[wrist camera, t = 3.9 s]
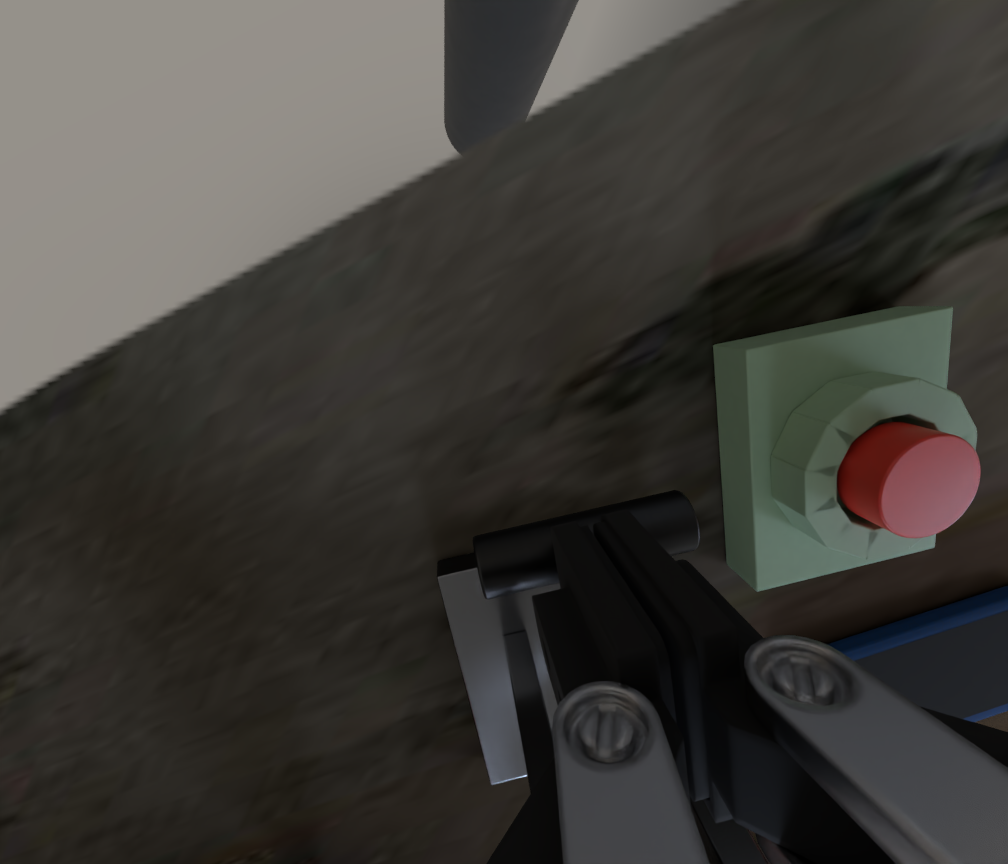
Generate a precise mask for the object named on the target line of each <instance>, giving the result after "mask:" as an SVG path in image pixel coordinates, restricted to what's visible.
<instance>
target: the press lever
mask: <svg viewBox="0 0 1008 864" xmlns="http://www.w3.org/2000/svg"><path fill="white" fill-rule="evenodd" d="M625 509H627V510H628V511H630V513H631V514H632V515H633V516H634V517H635V518H636V519H637V520H638V521H639V522H640V523H641V524H642V526H643V527H644V528H645V529H646V530H647V531H648V532H649V533H650V534H651V535H652V536H653V537H654V539H655V540H656V541H657V542H658V543H659V544H660V545H661V546H662V547H663V548H664V549H665V550H666V551H667V553H668V554H669V555H670V556H673V555H677V554H681V553H686V552H690V551H694V550H695V549H696V548H697V547H698V546H699V543H700V529H699V524H698V520H697V517H696V514H695V511H694V509H693V507H692V505H691V503H690V502H689V500H688V499H687V497H686V496H685V495H684V494H683V493H682V492H680V491H676V490H673V491H669V492H664V493H660V494H656V495H651V496H647V497H643V498H638V499H634V500H630V501H625V502H621V503H617V504H612V505H608V506H603V507H599V508H595V509H590V510H586V511H582V512H577V513H573V514H569V515H564V516H560V517H555V518H551V519H547V520H542V521H538V522H534V523H529V524H525V525H521V526H516V527H512V528H508V529H503V530H499V531H494V532H490V533H486V534H481V535H477V536H475V537H473V547H474V553H475V559H476V564H477V569H478V574H479V578H480V583H481V587H482V591H483V595H484V597H485V599H488V600H489V599H493V598H498V597H502V596H506V595H510V594H514V593H518V592H523V591H527V590H531V589H535V588H539V587H543V586H548V585H552V584H556V583H560V582H559V577H558V571H557V565H556V560H555V554H554V548H553V543H552V537H551V527H552V526H556V525H560V524H565V523H569V522H573V521H576V522H577V523H578V525H579V526H580V527H582V526H586V525H587V526H588V527H589V528H590V530H591V531H592V533H593V534H594V530H593V525H594V524H595V523H599V522H601V521H600V520H601V515H604V514H608V513H612V512H617V511H621V510H625Z"/></svg>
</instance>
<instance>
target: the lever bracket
mask: <svg viewBox="0 0 1008 864" xmlns="http://www.w3.org/2000/svg"><path fill="white" fill-rule="evenodd" d="M437 580H438V584H439V588H440V591H441V595H442V599H443V603H444V607H445V611H446V615H447V618H448V622H449V626H450V630H451V634H452V638H453V642H454V645H455V649H456V653H457V657H458V661H459V665H460V669H461V673H462V676H463V680H464V684H465V688H466V692H467V696H468V700H469V703H470V707H471V711H472V715H473V719H474V723H475V727H476V730H477V734H478V738H479V742H480V746H481V750H482V754H483V758H484V761H485V765H486V769H487V773H488V777H489V781H490V784H491V785H494V784H498V783H502V782H506V781H509V780H513V779H517V778H521V777H524V776H528V780H529V786H530V792H531V793H532V791H533V790H534V788H535V787H536V785H537V784H538V782H539V780H540V779H541V777H542V776H543V774H544V773H545V771H546V769H547V768H548V766H549V765H550V763H551V762H552V760H553V758H554V747H553V735H552V726H553V716H554V713H555V711H556V709H557V707H558V705H557V702H556V698H555V695H554V691H553V688H552V684H551V681H550V677H549V674H548V670H547V667H546V663H545V659H544V655H543V651H542V647H541V642H540V638H539V633H538V628H537V623H536V618H535V613H534V608H533V602H532V596H533V595H537V594H541V593H545V592H550V591H554V590H558V589H561V588H560V583H556V584H552V585H548V586H543V587H539V588H535V589H531V590H527V591H523V592H518V593H514V594H510V595H506V596H502V597H498V598H493V599H489V600H488V599H485V597H484V595H483V591H482V587H481V583H480V578H479V574H478V569H477V564H476V559H475V553H470V554H465V555H461V556H457V557H452V558H448V559H444V560H440V561H438V563H437ZM690 803H691V811H692V813H693V816H694V819H695V822H696V825H697V828H698V831H699V834H700V837H701V840H702V843H703V846H704V849H705V851H706V854H707V857H708V860H709V863H710V864H768V862H767V860H766V859H765V857H764V855H763V853H762V852H761V850H760V848H759V847H758V845H757V843H756V841H755V840H754V838H753V836H752V835H751V833H750V831H749V829H747V828H745V827H743V826H741V825H739V824H737V823H736V822H735V821H734V819H730V820H726V821H723V822H719V823H715V821H714V819H713V817H712V815H711V813H710V811H709V810H708V808H707V806H706V804H705V802H704V800H703V799H702V800H699V801H693V800H692V799H691V797H690Z"/></svg>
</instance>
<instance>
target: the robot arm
mask: <svg viewBox="0 0 1008 864" xmlns="http://www.w3.org/2000/svg"><path fill="white" fill-rule="evenodd" d="M600 521H601V522H599V523H595V524H594V525H593V530H594V534H593V533H592V531H591V530H590V528H589V527H588V526H587V525H586V526H582V527H580V526H579V525H578V523H577V522H576V521H573V522H569V523H565V524H560V525H556V526H552V527H551V537H552V543H553V548H554V554H555V560H556V565H557V571H558V577H559V582H560V588H561V589H558V590H554V591H550V592H545V593H541V594H537V595H533V596H532V602H533V608H534V613H535V618H536V623H537V628H538V633H539V638H540V642H541V647H542V651H543V655H544V659H545V663H546V667H547V670H548V674H549V677H550V681H551V684H552V688H553V691H554V695H555V698H556V702H557V705H558V707H557V709H556V711H555V713H554V716H553V726H552V735H553V747H554V758H553V760H552V762H551V763H550V765H549V766H548V768H547V769H546V771H545V773H544V774H543V776H542V777H541V779H540V780H539V782H538V784H537V785H536V787H535V788H534V790H533V791H532V793H531V795H530V796H529V798H528V799H527V801H526V802H525V804H524V806H523V807H522V809H521V810H520V812H519V813H518V815H517V817H516V818H515V820H514V821H513V823H512V824H511V826H510V828H509V829H508V831H507V832H506V834H505V835H504V837H503V839H502V840H501V842H500V843H499V845H498V846H497V848H496V850H495V851H494V853H493V854H492V856H491V857H490V859H489V861H488V862H487V864H710V863H709V860H708V857H707V854H706V851H705V849H704V846H703V843H702V840H701V837H700V834H699V831H698V828H697V825H696V822H695V819H694V816H693V813H692V811H691V803H690V797H691V799H692V800H693V801H699V800H702V799H703V800H704V802H705V804H706V806H707V808H708V810H709V811H710V813H711V815H712V817H713V819H714V821H715V823H719V822H723V821H726V820H730V819H734V821H735V822H736V823H737V824H739V825H741V826H743V827H745V828H747V829H749V830H751V831H753V832H755V834H756V838H757V842H758V844H759V846H760V848H761V849H762V851H763V853H764V854H765V856H766V858H767V860H768V861H769V862H770V864H1008V732H1005V731H1002V730H998V729H995V728H991V727H988V726H985V725H981V724H978V723H974V722H971V721H968V720H964V719H961V718H958V717H954V716H951V715H947V714H944V713H941V712H937V711H934V710H930V709H927V708H924V707H920V706H918V705H917V704H915V703H914V702H912V701H911V700H910V699H908V698H907V697H905V696H904V695H902V694H901V693H899V692H898V691H897V690H895V689H894V688H892V687H891V686H889V685H888V684H887V683H885V682H884V681H882V680H881V679H879V678H878V677H876V676H875V675H874V674H872V673H871V672H869V671H868V670H866V669H865V668H863V667H862V666H861V665H859V664H858V663H856V662H855V661H853V660H852V659H851V658H849V657H848V656H846V655H845V654H843V653H842V652H840V651H838V650H836V649H834V648H833V647H831V646H829V645H827V644H825V643H822V642H819V641H816V640H813V639H810V638H805V637H799V636H794V635H775V636H771V637H767V638H763V637H762V636H761V635H760V634H759V633H758V632H757V631H756V630H755V629H754V628H753V627H752V626H751V625H750V624H749V623H748V622H747V621H746V620H745V619H744V618H743V617H742V616H741V615H740V614H739V613H738V612H737V611H736V610H735V609H734V608H733V607H732V606H731V605H730V604H729V603H728V602H727V600H726V599H725V598H724V597H723V596H722V595H721V594H720V593H719V592H718V591H717V590H716V589H715V588H714V587H713V586H712V585H711V584H710V583H709V582H708V581H707V580H706V579H705V578H704V577H703V576H702V575H701V574H700V573H699V572H698V571H697V570H696V569H695V568H694V567H693V566H692V565H691V564H690V563H689V562H688V561H686V560H678V561H675V560H674V559H673V558H672V557H671V556H670V555H669V554H668V553H667V551H666V550H665V549H664V548H663V547H662V546H661V545H660V544H659V543H658V542H657V541H656V540H655V539H654V537H653V536H652V535H651V534H650V533H649V532H648V531H647V530H646V529H645V528H644V527H643V526H642V524H641V523H640V522H639V521H638V520H637V519H636V518H635V517H634V516H633V515H632V514H631V513H630V511H628V510H627V509H625V510H621V511H617V512H612V513H608V514H604V515H601V520H600Z"/></svg>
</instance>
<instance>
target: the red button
mask: <svg viewBox="0 0 1008 864" xmlns="http://www.w3.org/2000/svg"><path fill="white" fill-rule="evenodd" d="M980 472H981V469H980V462H979V458H978V455H977V453H976V451H975V450H974V448H973V447H972V446H971V445H970V444H969V443H968V442H967V441H966V440H964V439H963V438H961V437H959V436H956V435H953V434H949V433H945V432H941V431H937V430H933V429H929V428H925V427H921V426H917V425H913V424H909V423H905V422H889V423H884V424H880V425H877V426H875V427H873V428H871V429H869V430H867V431H866V432H865V433H863V434H862V435H860V436H859V437H858V438H857V439H856V440H855V441H854V442H853V443H852V444H851V446H850V447H849V449H848V451H847V453H846V455H845V457H844V458H843V460H842V462H841V464H840V466H839V469H838V474H837V489H838V493H839V496H840V498H841V500H842V502H843V504H844V505H845V506H846V507H847V508H848V509H849V510H850V511H851V512H853V513H854V514H856V515H858V516H860V517H862V518H864V519H866V520H868V521H870V522H872V523H874V524H876V525H878V526H880V527H882V528H884V529H886V530H888V531H890V532H892V533H894V534H896V535H898V536H901V537H905V538H923V537H928V536H931V535H934V534H936V533H939V532H941V531H943V530H944V529H946V528H947V527H949V526H950V525H952V524H953V523H954V522H955V521H956V520H958V519H959V518H960V517H961V516H962V514H963V513H964V512H965V511H966V510H967V508H968V507H969V505H970V504H971V502H972V500H973V498H974V496H975V494H976V492H977V489H978V485H979V481H980Z"/></svg>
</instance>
